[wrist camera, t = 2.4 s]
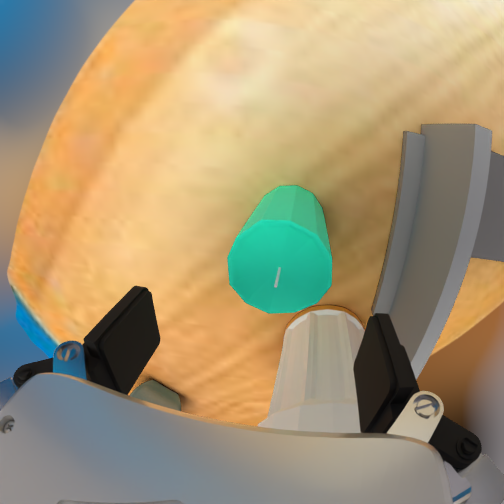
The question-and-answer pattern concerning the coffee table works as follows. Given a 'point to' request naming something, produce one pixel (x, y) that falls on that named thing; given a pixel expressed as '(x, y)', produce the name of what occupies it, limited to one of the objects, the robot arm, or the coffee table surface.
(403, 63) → the coffee table surface
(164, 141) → the coffee table surface
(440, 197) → the board
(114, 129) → the coffee table surface
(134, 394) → the flower pot
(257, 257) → the candle
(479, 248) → the mat
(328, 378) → the cup
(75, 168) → the coffee table surface
